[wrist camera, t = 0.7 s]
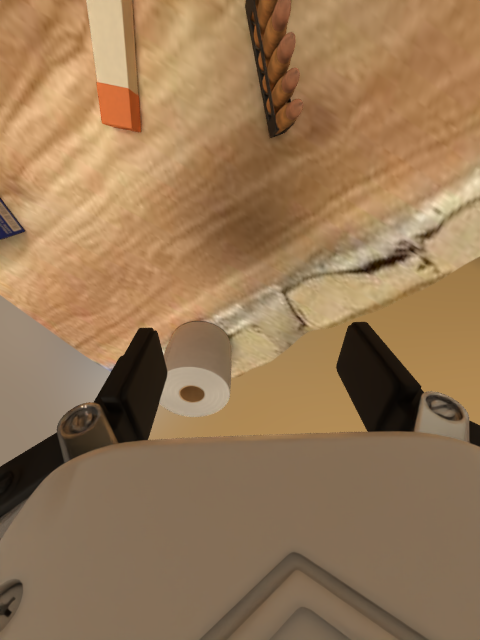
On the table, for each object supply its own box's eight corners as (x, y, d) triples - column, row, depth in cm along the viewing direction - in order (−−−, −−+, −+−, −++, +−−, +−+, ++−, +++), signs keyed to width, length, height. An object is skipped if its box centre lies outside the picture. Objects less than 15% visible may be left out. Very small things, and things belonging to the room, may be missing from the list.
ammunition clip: (244, 4, 23) (254, -123, 13) (263, -5, 22) (288, -142, 12) (270, 138, 28) (290, 124, 18) (285, 132, 28) (314, 114, 18)
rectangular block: (92, -65, 20) (71, -98, 18) (129, -55, 21) (114, -87, 18) (114, 127, 27) (101, 123, 25) (141, 132, 28) (132, 129, 25)
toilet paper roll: (236, 363, 49) (237, 412, 39) (180, 371, 49) (167, 421, 40) (224, 315, 42) (222, 360, 32) (160, 325, 43) (139, 372, 33)
